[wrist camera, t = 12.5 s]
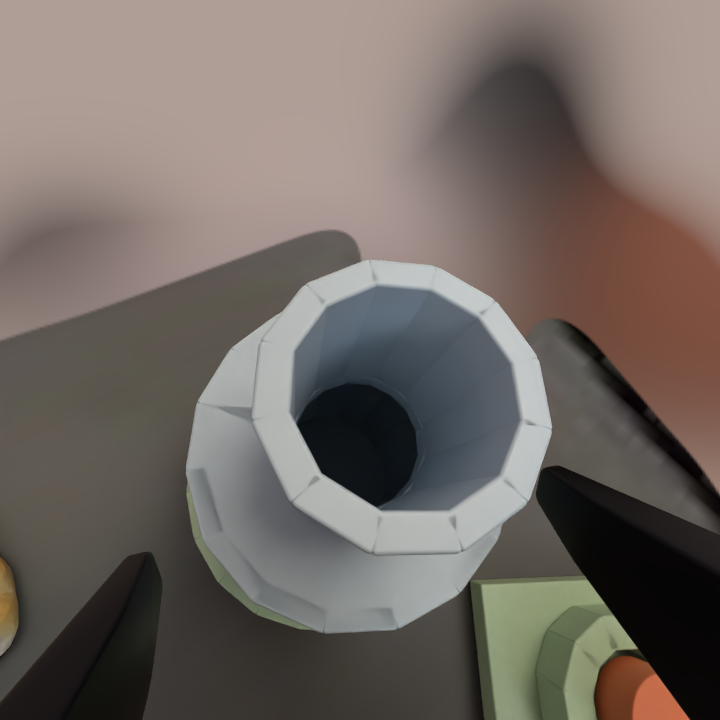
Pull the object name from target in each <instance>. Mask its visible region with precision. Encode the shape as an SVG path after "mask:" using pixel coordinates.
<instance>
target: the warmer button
mask: <svg viewBox="0 0 720 720" xmlns="http://www.w3.org/2000/svg"><path fill="white" fill-rule="evenodd" d="M595 700H596V709H597V714H598V718H599V720H690V719H689V718H688V717H687V715H686V714H685V713H684V711H683V710H682V708H681V707H680V706H679V704H678V703H677V702H676V700H675V699H674V698H673V696H672V695H671V693H670V692H669V691H668V689H667V688H666V687H665V685H664V684H663V682H662V681H661V680H660V678H659V677H658V676H657V674H656V673H655V672H654V670H653V669H652V667H651V666H650V665H649V663H647V662H644V661H642V660H640V659H638V658H635V657H632V656H618V657H615V658H613V659H611V660H610V661H609V662H607V663H606V664H605V666H604V667H603V668H602V670H601V672H600V674H599V677H598V680H597V684H596V692H595Z"/></svg>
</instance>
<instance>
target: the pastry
mask: <svg viewBox="0 0 720 720" xmlns="http://www.w3.org/2000/svg"><path fill="white" fill-rule="evenodd" d="M18 624H19V611H18V601H17V596H16V590H15V581H14V577H13V574H12V570H11V568H10V567H9V566H8V565H7V563H6V562H5V561H4V560H3V559H2V558H1V557H0V656H1V655H2V654H3V653H4V652H5V651H6V650H7V649H8V648H9V647H10V646H11V644H12V641H13V639H14V637H15V634H16V631H17V629H18Z"/></svg>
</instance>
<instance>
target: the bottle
mask: <svg viewBox="0 0 720 720" xmlns="http://www.w3.org/2000/svg"><path fill="white" fill-rule="evenodd" d="M536 358H537V355H536V354H535V352H534V351H533V350H532V348H531V347H530V346H529V344H528V343H527V342H526V340H525V339H524V338H523V336H522V335H521V334H520V332H519V331H518V329H517V328H516V327H515V325H514V324H513V323H512V321H511V320H510V319H509V317H508V316H507V315H506V313H505V312H504V311H503V309H502V308H501V307H500V305H499V304H498V303H497V302H494V299H493V298H491V297H489V296H487V295H486V294H484V293H482V292H480V291H479V290H477V289H475V288H474V287H472V286H470V285H468V284H466V283H464V282H463V281H461V280H460V279H458V278H456V277H454V276H453V275H451V274H449V273H447V272H446V271H444V270H442V269H440V268H438V267H436V268H435V267H434V266H432V265H422V264H412V263H402V262H391V261H382V260H369V261H367V260H365V261H362V262H360V263H357V264H355V265H352V266H349V267H347V268H344V269H342V270H339V271H337V272H334V273H331V274H329V275H326V276H324V277H321V278H319V279H316V280H314V281H311V282H308V283H307V284H306V285H304V286H303V287H302V288H301V289H300V290H299V291H298V293H297V294H296V295H295V297H294V298H293V299H292V300H291V302H290V303H289V304H288V305H287V307H286V308H285V309H284V310H283V312H282V313H279V315H278V314H277V315H275V316H274V317H273V318H271V319H270V320H269V321H267V322H266V323H265V324H263V325H262V326H260V327H259V328H258V329H256V330H255V331H254V332H252V333H251V334H250V335H248V336H247V337H245V338H244V339H243V340H241V341H240V342H239V343H237V344H236V345H235V346H233V347H232V348H231V349H230V350H229V352H228V353H227V355H226V356H225V358H224V360H223V361H222V363H221V364H220V366H219V368H218V369H217V371H216V372H215V374H214V376H213V377H212V379H211V380H210V382H209V384H208V385H207V387H206V388H205V390H204V392H203V393H202V395H201V396H200V398H199V400H198V403H197V405H196V409H195V415H194V421H193V427H192V433H191V439H190V445H189V451H188V457H187V463H186V470H187V471H186V476H187V480H188V484H189V488H190V492H191V496H192V500H193V504H194V508H195V512H196V516H197V520H198V524H199V527H200V531H201V535H202V539H203V541H204V542H205V545H206V547H207V548H208V549H209V550H210V551H211V553H212V554H213V555H214V556H215V558H216V559H217V560H218V561H219V562H220V564H221V565H222V566H223V567H224V569H225V570H226V571H227V572H228V573H229V575H230V576H231V577H232V578H233V580H234V581H235V582H236V583H237V584H238V586H239V587H240V588H241V589H242V591H243V592H244V593H245V594H246V595H247V597H248V598H249V599H250V600H251V601H253V602H254V603H255V604H257V605H259V606H261V607H263V608H266V609H268V610H270V611H272V612H274V613H277V614H279V615H281V616H283V617H286V618H288V619H290V620H292V621H294V622H297V623H299V624H301V625H303V626H306V627H308V628H310V629H312V630H314V631H317V632H319V633H322V632H323V633H325V634H332V633H351V632H370V631H389V630H396V628H397V629H400V628H402V627H403V626H405V625H407V624H409V623H410V622H412V621H414V620H416V619H417V618H419V617H421V616H423V615H424V614H426V613H428V612H430V611H431V610H433V609H435V608H437V607H438V606H440V605H442V604H444V603H445V602H447V601H449V600H450V599H452V598H454V597H456V596H457V595H458V594H459V593H460V592H461V591H462V590H463V589H464V587H465V586H466V584H467V583H468V582H469V580H470V579H471V577H472V576H473V574H474V573H475V572H476V570H477V569H478V567H479V566H480V565H481V563H482V562H483V560H484V559H485V557H486V556H487V555H488V553H489V552H490V550H491V549H492V547H493V546H494V545H495V543H496V542H497V540H498V537H499V536H500V532H501V528H502V523H504V522H505V521H506V520H508V519H509V518H510V517H512V516H513V515H514V514H516V513H517V512H518V511H520V510H521V509H522V508H523V507H525V505H526V504H527V503H526V502H528V501H529V500H530V497H531V494H532V491H533V488H534V485H535V482H536V479H537V476H538V473H539V470H540V467H541V464H542V461H543V458H544V455H545V452H546V449H547V446H548V443H549V440H550V437H551V434H552V431H551V429H552V424H551V419H550V413H549V408H548V403H547V398H546V393H545V388H544V383H543V378H542V373H541V368H540V363H539V360H538V359H536Z"/></svg>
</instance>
